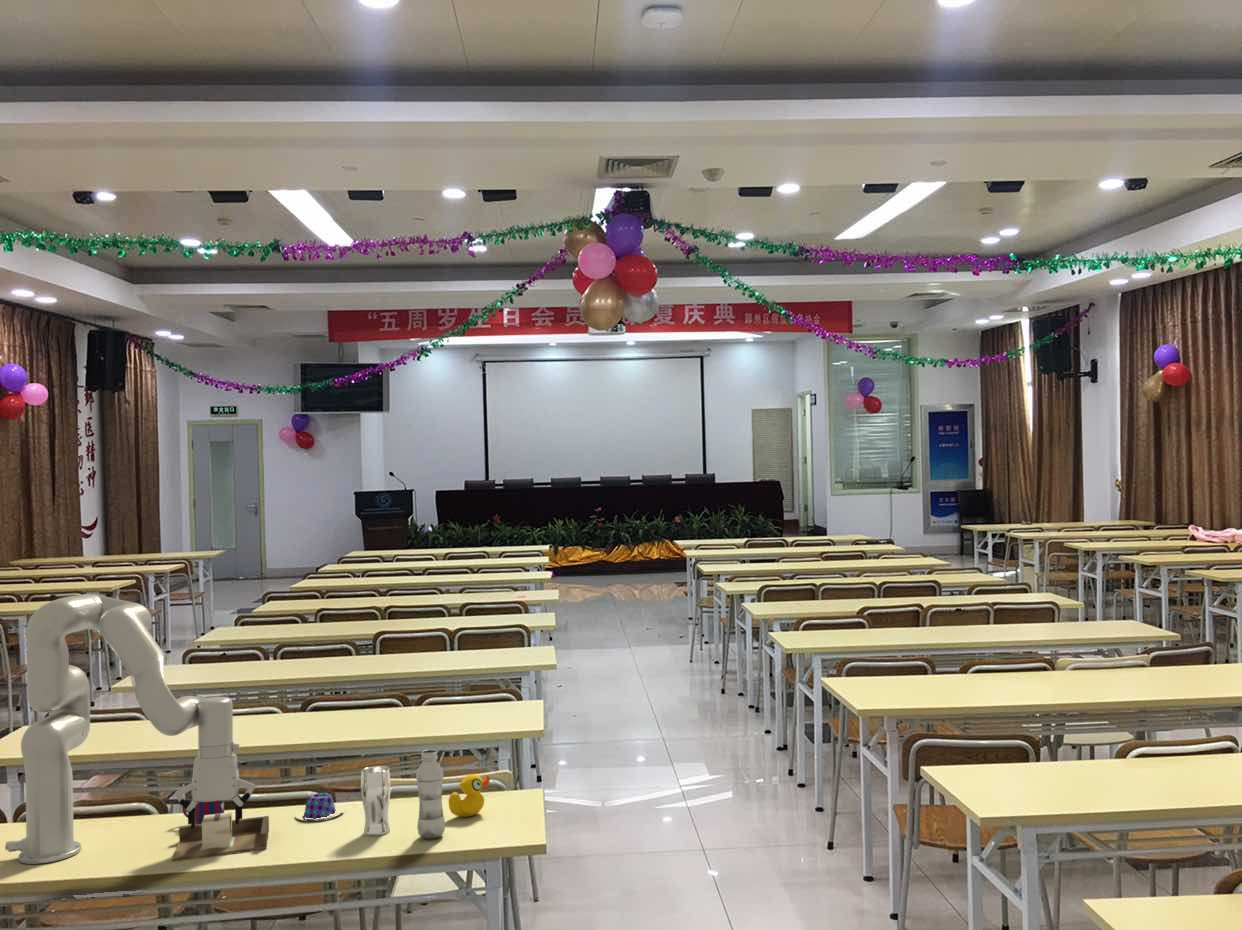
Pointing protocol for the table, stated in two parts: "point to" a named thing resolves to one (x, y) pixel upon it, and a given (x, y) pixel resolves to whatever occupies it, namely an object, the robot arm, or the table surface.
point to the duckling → (469, 796)
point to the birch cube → (216, 830)
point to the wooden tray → (244, 838)
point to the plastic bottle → (430, 796)
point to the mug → (206, 809)
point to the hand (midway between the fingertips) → (215, 824)
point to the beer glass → (376, 799)
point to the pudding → (319, 806)
